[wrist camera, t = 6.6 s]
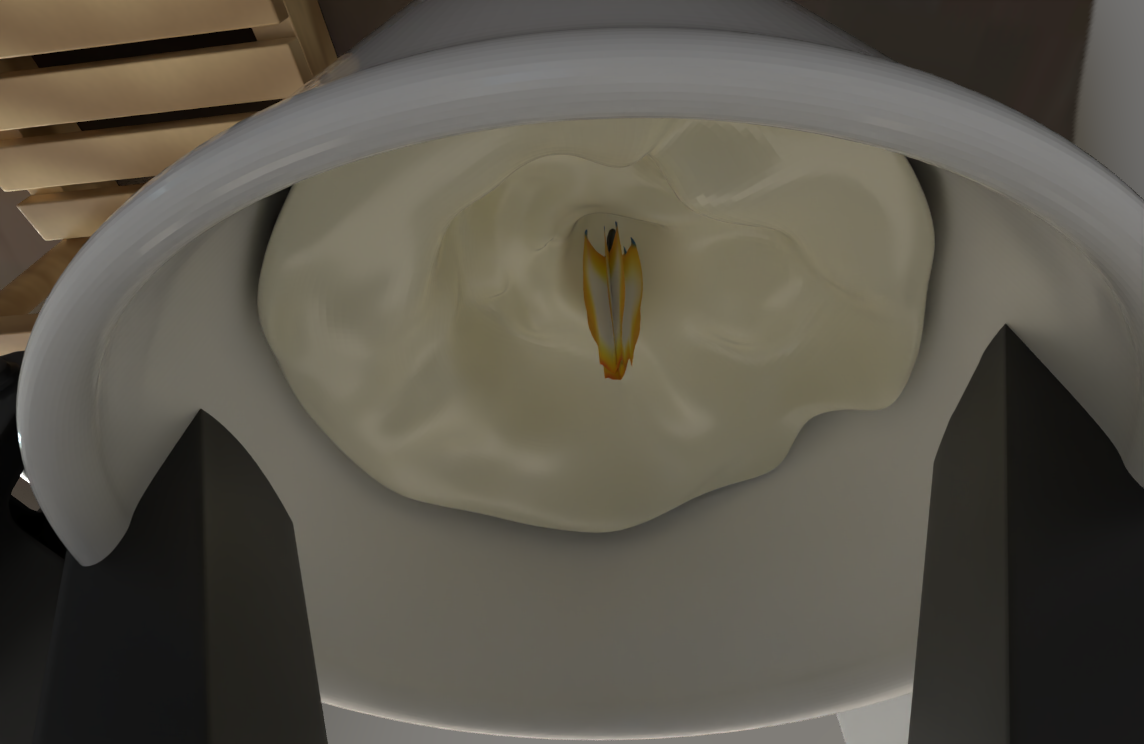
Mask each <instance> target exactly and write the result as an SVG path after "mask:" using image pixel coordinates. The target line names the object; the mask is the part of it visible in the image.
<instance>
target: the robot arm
mask: <svg viewBox="0 0 1144 744" xmlns="http://www.w3.org/2000/svg"><path fill="white" fill-rule="evenodd" d="M24 352H25V351H16V352H12V353H9V354H6V355H3V356H0V744H328V742H327V737H326V729H325V723H324V716H323V710H322V704H321V697H320V691H319V685H318V678H317V672H316V666H315V659H314V653H313V646H312V640H311V634H310V627H309V621H308V615H307V608H306V602H305V596H304V589H303V583H302V577H301V570H300V564H299V558H298V551H297V545H296V539H295V532H294V526H293V522H292V520H291V518H290V517H289V515H288V513H287V511H286V509H285V507H284V506H283V504H282V502H281V500H280V499H279V497H278V495H277V494H276V492H275V490H274V489H273V487H272V486H271V484H270V482H269V481H268V479H267V478H266V476H265V475H264V473H263V472H262V470H261V469H260V468H259V466H258V465H257V463H256V462H255V461H254V459H253V458H252V457H251V455H250V454H249V453H248V452H247V450H246V449H245V448H244V447H243V446H242V444H241V443H240V442H239V441H238V440H237V439H236V438H235V437H234V436H233V435H232V434H231V433H230V432H229V431H228V430H227V429H226V428H225V427H224V426H223V425H222V424H221V423H220V422H219V421H217V420H216V419H215V418H214V417H212V416H211V415H210V414H208V413H207V412H206V411H204V410H203V409H201V408H200V410H199V411H198V413H197V414H196V416H195V417H194V419H193V420H192V421H191V423H190V424H189V426H188V427H187V429H186V430H185V432H184V433H183V435H182V436H181V438H180V439H179V440H178V442H177V443H176V445H175V446H174V448H173V449H172V451H171V452H170V454H169V455H168V457H167V458H166V460H165V461H164V463H163V464H162V466H161V467H160V469H159V470H158V472H157V473H156V475H155V476H154V478H153V479H152V481H151V483H150V484H149V486H148V487H147V489H146V491H145V492H144V494H143V496H142V497H141V499H140V501H139V503H138V505H137V507H136V509H135V511H134V513H133V516H132V519H131V522H130V525H129V527H128V529H127V531H126V533H125V535H124V536H123V538H122V539H121V541H120V542H119V543H118V545H117V546H116V547H115V548H114V550H113V551H112V552H111V553H110V554H109V555H108V556H107V557H105V558H104V559H103V560H101V561H100V562H98V563H96V564H94V565H91V566H82V565H80V564H79V563H78V561H77V560H76V559H75V558H74V557H73V556H72V554H71V553H70V552H69V551H68V549H67V548H66V547H65V545H64V544H63V543H62V541H61V540H60V539H59V537H58V536H57V534H56V533H55V532H54V530H53V528H52V527H51V525H50V524H49V522H48V521H47V519H46V517H45V515H44V514H43V512H42V510H41V508H40V509H39V510H38V511H34V510H32V509H29V508H28V507H27V506H25V505H24V504H23V503H21V502H20V501H19V500H17V499H16V498H15V497H13V496H12V495H11V492H12V489H13V488H14V486H15V484H16V482H17V481H18V479H19V477H20V476H21V477H22V478H23V479H25V480H26V481H27V482H29V481H28V478H27V475H26V471H25V468H24V464H23V461H22V457H21V452H20V447H19V441H18V434H17V424H16V399H17V388H18V381H19V374H20V369H21V364H22V359H23V356H24ZM908 744H1144V488H1143V487H1142V486H1140V485H1139V484H1138V482H1137V481H1136V480H1135V479H1134V478H1133V477H1132V476H1131V474H1130V473H1129V472H1128V470H1127V469H1126V467H1125V465H1124V463H1123V460H1122V458H1121V456H1120V454H1119V452H1118V450H1117V449H1116V447H1115V446H1114V444H1113V443H1112V442H1111V440H1110V439H1109V438H1108V436H1107V435H1106V434H1105V433H1104V431H1103V430H1102V429H1101V428H1100V426H1099V425H1098V424H1097V423H1096V422H1095V421H1094V419H1093V418H1092V417H1091V416H1090V415H1089V414H1088V412H1087V411H1086V410H1085V409H1084V408H1083V407H1082V406H1081V405H1080V403H1079V402H1078V401H1077V400H1076V399H1075V398H1074V397H1073V396H1072V395H1071V393H1070V392H1069V391H1068V390H1067V389H1066V388H1065V387H1064V386H1063V385H1062V384H1061V382H1060V381H1059V380H1058V379H1057V378H1056V377H1055V376H1054V375H1053V374H1052V373H1051V372H1050V371H1049V369H1048V368H1047V367H1046V366H1045V365H1044V364H1043V363H1042V362H1041V361H1040V360H1039V359H1038V358H1037V356H1036V355H1035V354H1034V353H1033V352H1032V351H1031V350H1030V349H1029V348H1028V347H1027V346H1026V345H1025V344H1024V343H1023V341H1022V340H1021V339H1020V338H1019V337H1018V336H1017V335H1016V334H1015V333H1014V332H1013V331H1012V330H1011V329H1010V328H1009V326H1008V325H1007V324H1006V323H1005V324H1004V326H1003V327H1002V328H1001V329H1000V330H999V332H998V333H997V334H996V335H995V337H994V338H993V339H992V341H991V342H990V344H989V345H988V346H987V348H986V349H985V351H984V352H983V354H982V357H981V359H980V362H979V364H978V366H977V368H976V370H975V371H974V373H973V375H972V377H971V379H970V381H969V383H968V385H967V387H966V389H965V391H964V393H963V395H962V397H961V399H960V401H959V403H958V405H957V407H956V409H955V411H954V412H953V414H952V415H951V418H950V420H949V422H948V425H947V427H946V430H945V433H944V435H943V438H942V440H941V443H940V446H939V448H938V451H937V454H936V457H935V460H934V464H933V475H932V486H931V497H930V508H929V519H928V530H927V541H926V551H925V562H924V573H923V584H922V595H921V606H920V617H919V628H918V639H917V650H916V660H915V671H914V682H913V693H912V704H911V715H910V726H909V737H908Z"/></svg>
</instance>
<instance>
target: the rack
mask: <svg viewBox="0 0 1144 744" xmlns="http://www.w3.org/2000/svg"><path fill="white" fill-rule="evenodd" d="M245 28H252V30H253V32H254V35H255V37H256V39H257V41H256V42H248V43H239V44H231V45H223V46H215V47H207V48H199V49H191V50H183V51H175V52H166V53H158V54H150V55H142V56H134V57H126V58H118V59H110V60H101V61H93V62H85V63H77V64H69V65H61V66H53V67H45V68H39V67H38V66H37V64H36V63H35V61H34V60H33V58H32V57H31V55H37V54H45V53H53V52H61V51H69V50H77V49H85V48H93V47H101V46H109V45H117V44H125V43H133V42H141V41H149V40H157V39H165V38H173V37H181V36H189V35H197V34H205V33H213V32H221V31H229V30H237V29H245ZM336 59H338V58H337V55H336V53H335V50H334V47H333V44H332V41H331V38H330V35H329V33H328V30H327V27H326V24H325V21H324V18H323V15H322V13H321V10H320V7H319V4H318V1H317V0H0V187H1V188H2V189H3V190H4V191H5V192H6V191H16V190H25V189H27V190H28V191H29V192H30V194H31V196H29V197H28V198H26V199H25V200H23V201H22V202H20V203H19V204H18V205H17V207H18V208H19V210H20V211H21V212H22V213H23V214H24V216H25V217H26V218H27V219H28V220H29V222H30V223H31V224H32V225H33V227H34V228H35V229H36V230H37V231H38V233H39V234H40V235H41V236H42V237H43V239H44V240H46V241H48V240H58V239H63V240H62V241H61V242H60V243H58V244H57V245H56V246H55V247H53V248H52V249H51V250H50V251H49V252H47V253H46V254H45V255H44V256H42V257H41V258H40V259H39V260H37V261H36V262H35V263H34V264H33V265H31V266H30V267H29V268H28V269H26V270H25V271H24V272H23V273H22V274H20V275H19V276H18V277H17V278H15V279H14V280H13V281H12V282H11V283H9V284H8V285H7V286H6V287H4V288H3V289H2V290H1V291H0V356H3V355H6V354H9V353H12V352H16V351H25V348H26V345H27V342H28V339H29V337H30V334H31V331H32V329H33V326H34V324H35V322H36V319H37V317H38V315H39V313H36V314H28V313H29V312H31V311H32V310H33V309H34V308H35V307H36V306H37V305H38V304H39V303H41V302H42V301H43V300H44V299H45V298H46V297H47V296H48V295H49V293H50V292H51V290H52V288H53V287H54V285H55V283H56V282H57V280H58V279H59V277H60V276H61V274H62V273H63V271H64V270H65V268H66V267H67V266H68V264H69V263H70V261H71V260H72V259H73V257H74V256H75V255H76V253H77V252H78V251H79V250H80V248H81V247H82V246H83V245H84V244H85V242H86V241H87V240H88V239H89V238H90V237H91V235H92V234H93V233H94V232H95V231H96V230H97V229H98V228H99V227H100V226H101V225H102V224H103V223H104V221H105V220H106V219H107V218H108V217H109V216H110V215H111V214H112V213H113V212H114V211H115V210H116V209H117V208H119V207H120V206H121V205H122V204H123V203H124V202H125V201H126V200H127V199H128V198H130V197H131V196H132V195H133V194H134V193H135V192H136V191H138V190H139V189H140V188H141V187H142V186H144V185H145V184H146V183H144V184H134V185H125V186H119V185H118V184H117V182H116V181H115V180H121V179H130V178H140V177H149V176H156V175H157V174H159V173H160V172H161V171H163V170H164V169H165V168H167V167H168V166H169V165H171V164H172V163H174V162H175V161H177V160H178V159H179V158H181V157H182V156H184V155H185V154H187V153H188V152H190V151H191V150H193V149H194V148H196V147H197V146H199V145H200V144H202V143H204V142H205V141H207V140H208V139H210V138H212V137H213V136H215V135H217V134H218V133H220V132H222V131H224V130H225V129H227V128H229V127H231V126H233V125H234V124H236V123H238V122H240V121H242V120H244V119H245V118H247V117H249V116H251V115H253V114H255V113H257V112H259V111H255V112H246V113H237V114H228V115H220V116H211V117H202V118H193V119H184V120H175V121H166V122H158V123H149V124H140V125H131V126H122V127H113V128H105V129H96V130H87V131H81V129H80V128H79V126H78V125H77V123H76V122H82V121H91V120H100V119H108V118H117V117H126V116H135V115H143V114H152V113H161V112H170V111H178V110H187V109H196V108H205V107H213V106H222V105H231V104H240V103H248V102H257V101H266V100H274V99H282V100H284V99H286V98H287V97H288V96H290V95H291V94H292V93H293V92H295V91H296V90H297V89H299V88H300V87H301V86H303V85H304V84H305V83H306V82H308V81H309V80H310V79H312V78H313V77H314V76H316V75H317V74H318V73H319V72H321V71H322V70H323V69H325V68H326V67H327V66H329V65H330V64H331V63H332V62H334V61H335V60H336Z"/></svg>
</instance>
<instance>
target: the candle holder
mask: <svg viewBox="0 0 1144 744" xmlns="http://www.w3.org/2000/svg"><path fill="white" fill-rule="evenodd" d="M1005 323H1006V324H1007V325H1008V326H1009V328H1010V329H1011V330H1012V331H1013V332H1014V333H1015V334H1016V335H1017V336H1018V337H1019V338H1020V339H1021V340H1022V341H1023V343H1024V344H1025V345H1026V346H1027V347H1028V348H1029V349H1030V350H1031V351H1032V352H1033V353H1034V354H1035V355H1036V356H1037V358H1038V359H1039V360H1040V361H1041V362H1042V363H1043V364H1044V365H1045V366H1046V367H1047V368H1048V369H1049V371H1050V372H1051V373H1052V374H1053V375H1054V376H1055V377H1056V378H1057V379H1058V380H1059V381H1060V382H1061V384H1062V385H1063V386H1064V387H1065V388H1066V389H1067V390H1068V391H1069V392H1070V393H1071V395H1072V396H1073V397H1074V398H1075V399H1076V400H1077V401H1078V402H1079V403H1080V405H1081V406H1082V407H1083V408H1084V409H1085V410H1086V411H1087V412H1088V414H1089V415H1090V416H1091V417H1092V418H1093V419H1094V421H1095V422H1096V423H1097V424H1098V425H1099V426H1100V428H1101V429H1102V430H1103V431H1104V433H1105V434H1106V435H1107V436H1108V438H1109V439H1110V440H1111V442H1112V443H1113V444H1114V446H1115V447H1116V449H1117V450H1118V452H1119V454H1120V456H1121V458H1122V460H1123V463H1124V465H1125V467H1126V469H1127V470H1128V472H1129V473H1130V474H1131V476H1132V477H1133V478H1134V479H1135V480H1136V481H1137V482H1138V484H1139V485H1140V486H1142V487H1143V488H1144V200H1143V199H1142V198H1141V197H1140V196H1139V195H1138V194H1137V193H1136V192H1135V191H1134V190H1132V188H1130V187H1129V186H1128V185H1127V184H1126V183H1125V182H1124V181H1122V180H1121V179H1120V178H1119V177H1118V176H1116V175H1115V174H1114V173H1113V172H1112V171H1110V170H1109V169H1108V168H1107V167H1105V166H1104V165H1103V164H1101V163H1100V162H1099V161H1097V160H1096V159H1095V158H1093V157H1092V156H1091V155H1089V154H1088V153H1086V152H1085V151H1083V150H1082V149H1081V148H1079V147H1078V146H1076V145H1075V144H1073V143H1072V142H1070V141H1069V140H1067V139H1065V138H1064V137H1062V136H1061V135H1059V134H1058V133H1056V132H1054V131H1053V130H1051V129H1049V128H1048V127H1046V126H1044V125H1042V124H1041V123H1039V122H1037V121H1035V120H1033V119H1032V118H1030V117H1028V116H1026V115H1024V114H1022V113H1020V112H1018V111H1016V110H1015V109H1013V108H1011V107H1009V106H1007V105H1004V104H1002V103H1000V102H998V101H996V100H994V99H992V98H990V97H987V96H985V95H983V94H981V93H978V92H976V91H974V90H971V89H969V88H966V87H964V86H961V85H959V84H956V83H954V82H951V81H949V80H946V79H944V78H941V77H938V76H935V75H933V74H930V73H927V72H924V71H921V70H918V69H915V68H912V67H909V66H906V65H903V64H900V63H898V62H897V61H895V60H893V59H892V58H890V57H888V56H886V55H885V54H883V53H881V52H880V51H878V50H876V49H874V48H873V47H871V46H869V45H868V44H866V43H864V42H863V41H861V40H859V39H858V38H856V37H854V36H852V35H851V34H849V33H847V32H846V31H844V30H842V29H841V28H839V27H837V26H835V25H834V24H832V23H830V22H829V21H827V20H825V19H824V18H822V17H820V16H819V15H817V14H815V13H813V12H812V11H810V10H808V9H807V8H805V7H803V6H802V5H800V4H798V3H796V2H795V1H793V0H413V1H412V2H410V3H409V4H408V5H407V6H405V7H404V8H403V9H401V10H400V11H399V12H397V13H396V14H395V15H394V16H392V17H391V18H390V19H388V20H387V21H386V22H384V23H383V24H382V25H381V26H379V27H378V28H377V29H375V30H374V31H373V32H371V33H370V34H369V35H368V36H366V37H365V38H364V39H362V40H361V41H360V42H358V43H357V44H356V45H355V46H353V47H352V48H351V49H349V50H348V51H347V52H345V53H344V54H343V55H342V56H340V57H339V58H338V59H336V60H335V61H334V62H332V63H331V64H330V65H329V66H327V67H326V68H325V69H323V70H322V71H321V72H319V73H318V74H317V75H316V76H314V77H313V78H312V79H310V80H309V81H308V82H306V83H305V84H304V85H303V86H301V87H300V88H299V89H297V90H296V91H295V92H293V93H292V94H291V95H290V96H288V97H287V98H286V99H284V100H282V101H280V102H278V103H276V104H274V105H272V106H269V107H267V108H265V109H263V110H261V111H259V112H257V113H255V114H253V115H251V116H249V117H247V118H245V119H244V120H242V121H240V122H238V123H236V124H234V125H233V126H231V127H229V128H227V129H225V130H224V131H222V132H220V133H218V134H217V135H215V136H213V137H212V138H210V139H208V140H207V141H205V142H204V143H202V144H200V145H199V146H197V147H196V148H194V149H193V150H191V151H190V152H188V153H187V154H185V155H184V156H182V157H181V158H179V159H178V160H177V161H175V162H174V163H172V164H171V165H169V166H168V167H167V168H165V169H164V170H163V171H161V172H160V173H159V174H157V175H156V176H155V177H154V178H152V179H151V180H150V181H148V182H147V183H146V184H145V185H144V186H142V187H141V188H140V189H139V190H138V191H136V192H135V193H134V194H133V195H132V196H131V197H130V198H128V199H127V200H126V201H125V202H124V203H123V204H122V205H121V206H120V207H119V208H117V209H116V210H115V211H114V212H113V213H112V214H111V215H110V216H109V217H108V218H107V219H106V220H105V221H104V223H103V224H102V225H101V226H100V227H99V228H98V229H97V230H96V231H95V232H94V233H93V234H92V235H91V237H90V238H89V239H88V240H87V241H86V242H85V244H84V245H83V246H82V247H81V248H80V250H79V251H78V252H77V253H76V255H75V256H74V257H73V259H72V260H71V261H70V263H69V264H68V266H67V267H66V268H65V270H64V271H63V273H62V274H61V276H60V277H59V279H58V280H57V282H56V283H55V285H54V287H53V288H52V290H51V292H50V293H49V295H48V297H47V299H46V301H45V303H44V305H43V307H42V308H41V310H40V313H39V315H38V317H37V319H36V322H35V324H34V326H33V329H32V331H31V334H30V337H29V339H28V342H27V345H26V348H25V352H24V356H23V359H22V364H21V369H20V374H19V381H18V388H17V399H16V424H17V434H18V441H19V447H20V452H21V457H22V461H23V464H24V468H25V471H26V475H27V478H28V481H29V483H30V486H31V489H32V491H33V493H34V496H35V498H36V500H37V502H38V504H39V506H40V508H41V510H42V512H43V514H44V515H45V517H46V519H47V521H48V522H49V524H50V525H51V527H52V528H53V530H54V532H55V533H56V534H57V536H58V537H59V539H60V540H61V541H62V543H63V544H64V545H65V547H66V548H67V549H68V551H69V552H70V553H71V554H72V556H73V557H74V558H75V559H76V560H77V561H78V563H79V564H80V565H82V566H91V565H94V564H96V563H98V562H100V561H101V560H103V559H104V558H105V557H107V556H108V555H109V554H110V553H111V552H112V551H113V550H114V548H115V547H116V546H117V545H118V543H119V542H120V541H121V539H122V538H123V536H124V535H125V533H126V531H127V529H128V527H129V525H130V522H131V519H132V516H133V513H134V511H135V509H136V507H137V505H138V503H139V501H140V499H141V497H142V496H143V494H144V492H145V491H146V489H147V487H148V486H149V484H150V483H151V481H152V479H153V478H154V476H155V475H156V473H157V472H158V470H159V469H160V467H161V466H162V464H163V463H164V461H165V460H166V458H167V457H168V455H169V454H170V452H171V451H172V449H173V448H174V446H175V445H176V443H177V442H178V440H179V439H180V438H181V436H182V435H183V433H184V432H185V430H186V429H187V427H188V426H189V424H190V423H191V421H192V420H193V419H194V417H195V416H196V414H197V413H198V411H199V410H200V408H201V409H203V410H204V411H206V412H207V413H208V414H210V415H211V416H212V417H214V418H215V419H216V420H217V421H219V422H220V423H221V424H222V425H223V426H224V427H225V428H226V429H227V430H228V431H229V432H230V433H231V434H232V435H233V436H234V437H235V438H236V439H237V440H238V441H239V442H240V443H241V444H242V446H243V447H244V448H245V449H246V450H247V452H248V453H249V454H250V455H251V457H252V458H253V459H254V461H255V462H256V463H257V465H258V466H259V468H260V469H261V470H262V472H263V473H264V475H265V476H266V478H267V479H268V481H269V482H270V484H271V486H272V487H273V489H274V490H275V492H276V494H277V495H278V497H279V499H280V500H281V502H282V504H283V506H284V507H285V509H286V511H287V513H288V515H289V517H290V518H291V520H292V522H293V526H294V532H295V539H296V545H297V551H298V558H299V564H300V570H301V577H302V583H303V589H304V596H305V602H306V608H307V615H308V621H309V627H310V634H311V640H312V646H313V653H314V659H315V666H316V672H317V678H318V685H319V691H320V697H321V702H323V703H326V704H330V705H333V706H337V707H340V708H344V709H348V710H352V711H356V712H360V713H364V714H368V715H372V716H377V717H382V718H386V719H392V720H396V721H401V722H407V723H411V724H417V725H422V726H428V727H435V728H441V729H448V730H455V731H462V732H470V733H479V734H488V735H498V736H509V737H522V738H539V739H561V740H636V739H657V738H673V737H688V736H698V735H709V734H719V733H727V732H735V731H743V730H750V729H757V728H764V727H770V726H776V725H781V724H788V723H793V722H799V721H804V720H808V719H814V718H818V717H823V716H828V715H832V714H837V713H841V712H845V711H849V710H853V709H857V708H861V707H865V706H869V705H872V704H876V703H880V702H883V701H886V700H890V699H893V698H897V697H900V696H903V695H906V694H909V693H913V682H914V671H915V660H916V650H917V639H918V628H919V617H920V606H921V595H922V584H923V573H924V562H925V551H926V541H927V530H928V519H929V508H930V497H931V486H932V475H933V464H934V460H935V457H936V454H937V451H938V448H939V446H940V443H941V440H942V438H943V435H944V433H945V430H946V427H947V425H948V422H949V420H950V418H951V415H952V414H953V412H954V411H955V409H956V407H957V405H958V403H959V401H960V399H961V397H962V395H963V393H964V391H965V389H966V387H967V385H968V383H969V381H970V379H971V377H972V375H973V373H974V371H975V370H976V368H977V366H978V364H979V362H980V359H981V357H982V354H983V352H984V351H985V349H986V348H987V346H988V345H989V344H990V342H991V341H992V339H993V338H994V337H995V335H996V334H997V333H998V332H999V330H1000V329H1001V328H1002V327H1003V326H1004V324H1005Z"/></svg>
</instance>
